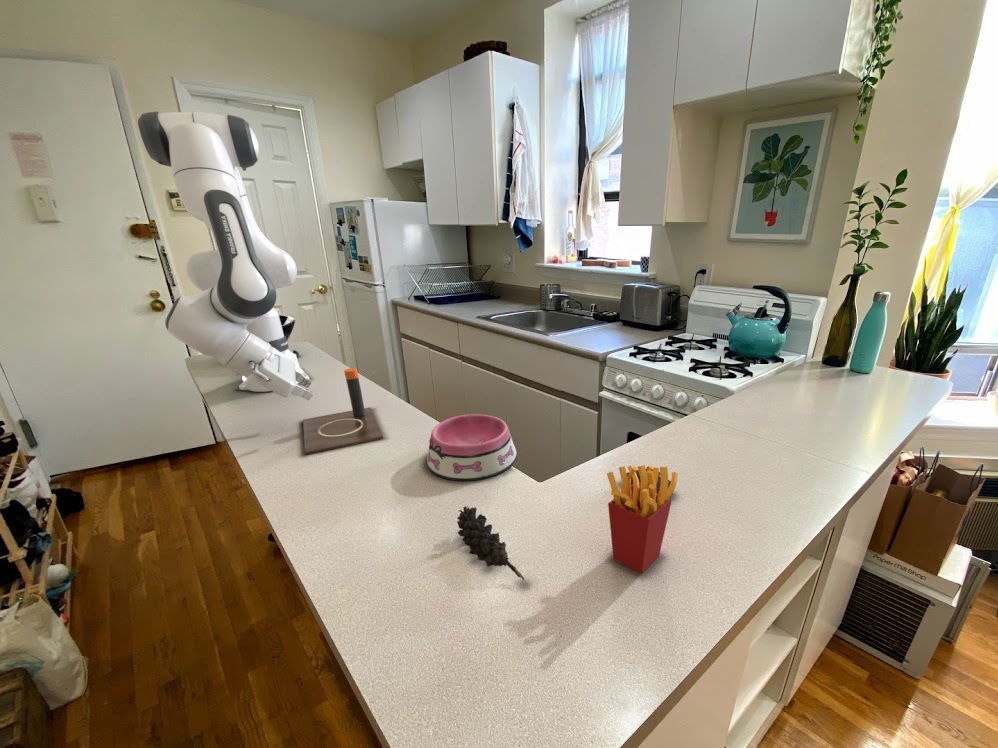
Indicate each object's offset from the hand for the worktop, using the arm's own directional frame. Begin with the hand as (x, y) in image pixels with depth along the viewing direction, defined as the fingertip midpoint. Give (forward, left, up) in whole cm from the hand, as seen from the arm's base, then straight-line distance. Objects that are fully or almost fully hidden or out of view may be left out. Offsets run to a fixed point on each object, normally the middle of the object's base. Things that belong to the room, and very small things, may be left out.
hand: (310, 390), depth 110 cm
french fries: (+75, +40, -9) cm, 85 cm away
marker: (0, +10, -8) cm, 13 cm away
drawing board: (+6, +5, -9) cm, 12 cm away
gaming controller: (+63, +52, -9) cm, 82 cm away
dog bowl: (+35, +28, -9) cm, 46 cm away
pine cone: (+65, +21, -9) cm, 69 cm away
